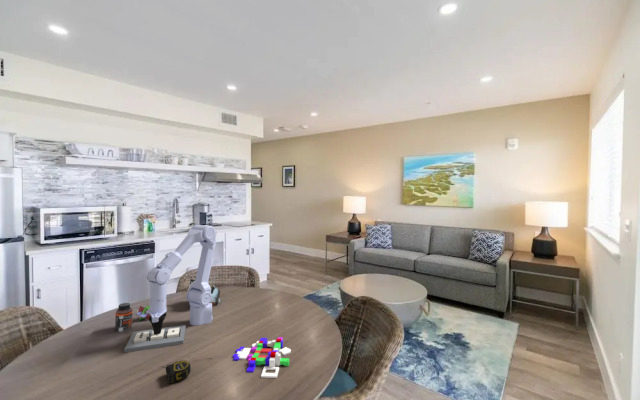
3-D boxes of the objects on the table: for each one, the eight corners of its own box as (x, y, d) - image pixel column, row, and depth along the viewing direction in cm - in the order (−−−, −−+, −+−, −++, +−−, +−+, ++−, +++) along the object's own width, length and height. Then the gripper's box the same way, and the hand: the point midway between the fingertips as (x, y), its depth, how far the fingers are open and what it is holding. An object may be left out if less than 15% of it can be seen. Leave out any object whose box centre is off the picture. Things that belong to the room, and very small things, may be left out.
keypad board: (185, 330, 125) (185, 325, 125) (183, 346, 112) (183, 340, 112) (133, 337, 118) (133, 331, 118) (124, 355, 105) (124, 348, 105)
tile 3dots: (148, 340, 116) (148, 330, 116) (145, 347, 111) (145, 337, 111) (136, 341, 115) (137, 332, 115) (133, 349, 109) (133, 339, 109)
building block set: (243, 340, 119) (243, 328, 119) (294, 341, 119) (294, 330, 119) (221, 378, 94) (222, 364, 94) (286, 380, 94) (286, 366, 94)
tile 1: (164, 337, 118) (164, 328, 118) (162, 345, 113) (162, 335, 113) (153, 339, 117) (153, 330, 117) (150, 346, 111) (150, 337, 111)
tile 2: (179, 336, 120) (179, 326, 120) (178, 342, 115) (178, 333, 115) (168, 337, 119) (168, 328, 119) (166, 344, 113) (166, 335, 113)
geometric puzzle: (160, 313, 138) (150, 299, 138) (150, 318, 131) (140, 304, 132) (148, 321, 138) (139, 307, 139) (138, 327, 132) (128, 312, 132)
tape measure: (165, 375, 94) (165, 363, 94) (188, 368, 98) (188, 357, 98) (168, 386, 89) (168, 374, 89) (192, 379, 93) (192, 367, 93)
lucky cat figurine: (219, 307, 151) (205, 284, 146) (194, 318, 150) (179, 294, 145) (223, 288, 167) (210, 266, 161) (200, 298, 166) (187, 276, 160)
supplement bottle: (123, 335, 120) (124, 307, 120) (111, 333, 121) (111, 306, 121) (135, 328, 126) (136, 302, 126) (123, 327, 127) (124, 301, 127)
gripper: (149, 293, 120) (149, 327, 120) (142, 306, 106) (142, 343, 107) (169, 292, 122) (168, 324, 123) (164, 304, 109) (163, 340, 109)
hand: (157, 333), depth 115 cm, fingers closed, pressing on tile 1
